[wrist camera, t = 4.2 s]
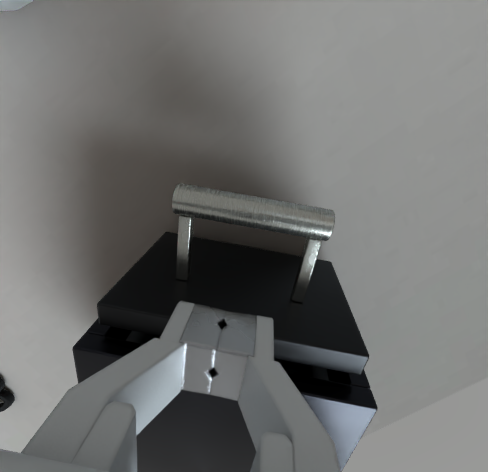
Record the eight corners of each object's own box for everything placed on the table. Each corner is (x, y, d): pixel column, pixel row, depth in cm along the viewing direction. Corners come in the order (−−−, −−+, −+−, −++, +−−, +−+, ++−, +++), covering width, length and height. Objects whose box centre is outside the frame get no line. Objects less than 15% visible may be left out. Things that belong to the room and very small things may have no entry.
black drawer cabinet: (162, 245, 20) (71, 347, 11) (330, 276, 19) (378, 409, 10) (159, 377, 26) (99, 511, 17) (286, 402, 26) (294, 554, 17)
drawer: (168, 159, 16) (83, 190, 9) (354, 192, 16) (422, 251, 9) (162, 366, 24) (113, 472, 17) (287, 391, 23) (294, 511, 16)
